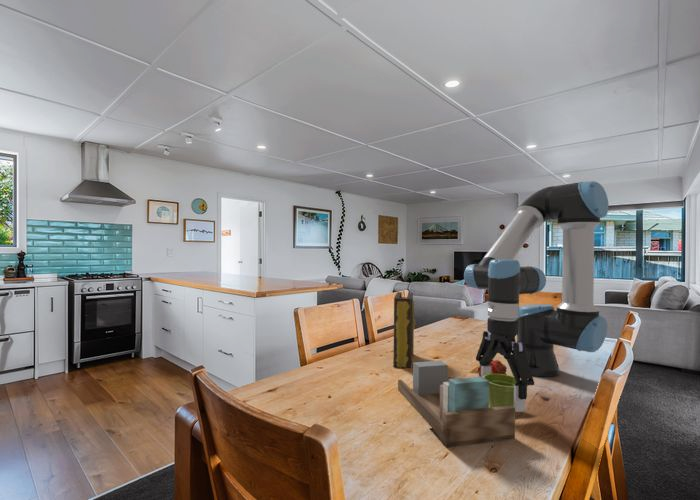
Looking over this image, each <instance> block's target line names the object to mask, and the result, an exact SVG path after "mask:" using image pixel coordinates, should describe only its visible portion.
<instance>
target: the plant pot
mask: <svg viewBox="0 0 700 500" xmlns="http://www.w3.org/2000/svg"><path fill="white" fill-rule="evenodd" d="M483 378H485V379H487V380H488V381H489V408H492V407H502V406H513V407H514V384H515V383H516V380H515V378H514V376H513V375H509V374H507V375H504V374H487V375H484V376H483Z"/></svg>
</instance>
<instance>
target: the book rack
mask: <svg viewBox="0 0 700 500" xmlns="http://www.w3.org/2000/svg"><path fill="white" fill-rule="evenodd" d="M397 390H398V392H399V393H400V394H401V395H402V396H403V397H404V398H405V400H406V401H407V402H408V403H409V404H410V405H411V407H413V408H414V410H415V411H416V412H417V413H418V414H419V415H420V416H421V417H422V419H424V421H425V422H426V423H427V424H428V425H429V426H430V427H431V428H429V427H428V428H429V430H430V431H431V432H432V434H433V435H435V437H436V438H437V439H438V440H439V442H441V444H442V445H443V446H444V447H445V448H452V447H461V446H468V445H476V444H483V443H494V442H500V441H508V440H515V438H516V412H515V407H513V406H502V407H492V408H489V381H488V380H487V379H485V378H483V377H479V376H472V377H471V376H470V377H460V378H458V377H457V378H448V381H447V382H443V385H440V393H434V394H423V395H418V394H417V393H416V392H415V391H414V390H413V388H410V386H408V384H407V383H406V382H404V380H402V379H398V380H397Z"/></svg>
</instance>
